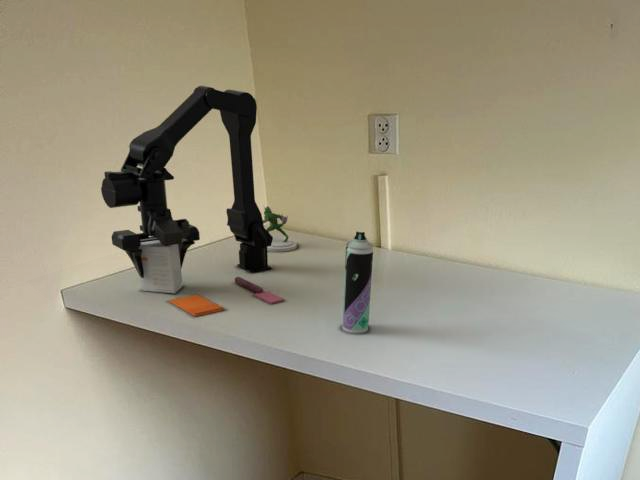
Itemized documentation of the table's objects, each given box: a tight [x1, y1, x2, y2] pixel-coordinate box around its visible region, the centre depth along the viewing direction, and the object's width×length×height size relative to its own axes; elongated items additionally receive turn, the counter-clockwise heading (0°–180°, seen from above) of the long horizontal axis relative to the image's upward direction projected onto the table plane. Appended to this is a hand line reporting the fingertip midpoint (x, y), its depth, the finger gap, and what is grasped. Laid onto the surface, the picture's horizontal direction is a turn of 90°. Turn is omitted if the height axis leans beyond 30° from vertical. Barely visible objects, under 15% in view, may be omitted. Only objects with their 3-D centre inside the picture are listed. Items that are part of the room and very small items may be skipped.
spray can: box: [342, 231, 374, 335], centre depth 138 cm, size 6×6×20 cm
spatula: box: [234, 276, 284, 305], centre depth 159 cm, size 17×4×2 cm, turn 42°
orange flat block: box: [169, 294, 224, 318], centre depth 149 cm, size 7×11×1 cm, turn 42°
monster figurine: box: [263, 205, 298, 253], centre depth 190 cm, size 12×12×10 cm
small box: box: [139, 240, 184, 294], centre depth 154 cm, size 8×6×10 cm
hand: (160, 274), depth 156 cm, fingers closed on small box, 9 cm apart
